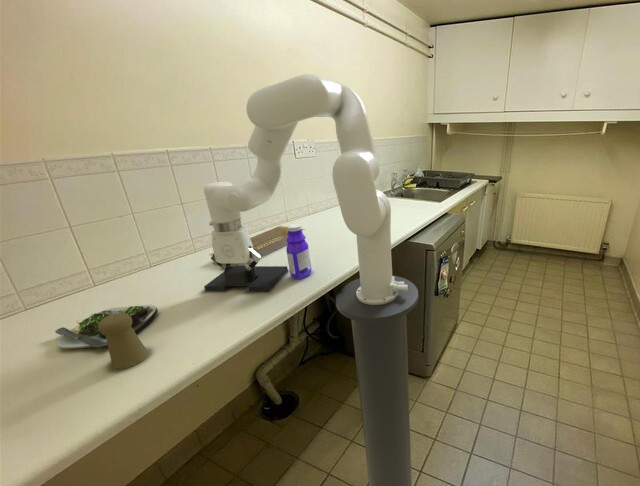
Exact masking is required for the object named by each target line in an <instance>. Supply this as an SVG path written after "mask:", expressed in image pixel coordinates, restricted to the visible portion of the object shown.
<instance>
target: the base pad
mask: <svg viewBox="0 0 640 486" xmlns="http://www.w3.org/2000/svg"><path fill="white" fill-rule="evenodd" d="M232 267H234V266H232ZM254 270H255V274H256V277H255V279H254V280H252V281H251V282H250V283H249V284H247V285H246V286H247V291H248V293H252V292H253V293H255V292H256V293H265V292H266V293H269V292H270V291H271V290H272V289H273V288H274V287H275V286H276V285H277V284H278V283H279V282H280V280H281V279H283V278H284V276H285V275H286V274H287V273H289V267H288V266H287V265H285V266H281V265H279V266H278V265H275V266H273V265H269V266H267V265H266V266H265V265H261V266H260V265H255V267H254ZM224 274H225V272H224V271H223V272H222V273H220V274H219V275H217V276H216V277H214V278H213V279H212V280H211V281H209V282H208V283H206V284H205V285H204V290H205V292H227V291H228V290H229V289H230V288H232V286H227V284H226V280H225V276H224Z"/></svg>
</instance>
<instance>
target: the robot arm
mask: <svg viewBox="0 0 640 486" xmlns="http://www.w3.org/2000/svg"><path fill="white" fill-rule="evenodd" d="M246 115H247V118H248V119H249V121H250V122H251V124H252V125H254V128H253V130H252V132H251V135H250V137H249V140H248V143H247V148H248V150H249V151H250V153H251V154H253V155H254V156H255V157H256V158H257V163H256V166H255V170H254V172H253V174H252V177H251V178H250V179H248V180H244V181H241V182H239V183H235V184H233V183H231V182H230V181H217V182H210V183H207V184H206V185H204V187H203V192H204V197H205V201H206V204H207V208H208V212H209V216H210V219H211V221H209V223H208V224H209V227H213V230H212V231H211V244H212V251H213V252H212V253H213V255H212V256H211V257H210V260H211V261H212V262H214V263H215V264H216V265H217V266H218V267H220V269H221V271H223V272H225V273H226V272H228V271H229V270H230V269H232V268H233V267H232V266H230V265H231V264H244V265H245V267H246V268H247V270H246V274H247V278H248V282H250V283H252V282H253V281H252V280H254V279H255V276H256V275H255V270H254V267H255V266H257V265H258V263H259V262H260V261H261V260H262V258H263V257H261V256H260V255H259V254H258V253H257V252H255V251H254V249H253V248H254V247H253V245H252V242H251V239H250V238H251V237H250V234H249V232H248V230H247V228H246V227H245V226H244V222H243V218H242V214H241V213H244V212H249V211H250V210H252V209H254V208H257V207H258V206H261V205H263V204H265V203H267V202H268V201H269V200H270V199H271V198H272V196H273V195H274V193H275V191H276V190H277V187H278V184H279V183H280V180H281V176H282V167H283V165H282V159H283V156H284V154H285V152H286V150H287V147H288V145H289V142H290V140H291V138H292V136H293V134H294V133H295V130H296V127H297V125H298V123H299V122H301V121H304V120H305V121H306V120H307V119H312V118H331V119H333V121H334V123H335V134H336V138H337V142H338V145H339V149H340V155H339V156H338V157H337V158H336V159H335V161H334V164H333V165H332V173H331V174H332V182H333V186H334V190H335V194H336V199H337V201H338V205H339V209H340V211H341V215H342V218H343V222H344V225H345V226H346V227H347V228H348V230H349V231H350V232H351V233H352V234H354V235H356V248H357V249H356V250H357V251H356V252H357V260H358V271H359V278H360V284H361V286H360V287H359V288H358V289H357V291H356V297H357V299H358V300H359V301H360V302H362V303H364V304H368V305H381V304H386V303H388V302H391V301H393V300H394V299H395V298H396V297H397V296H398V291H408V285H404V282H396V281H395V278H394V277H392V276H393V262H392V237H391V235H392V234H391V226H392V225H391V223H392V222H391V219H392V209H391V203H390V199H389V197H388V196H387V195H386V194H385V193H384V192H383V191H381V190H379V189H376V184H375V181H376V180H377V179H378V177H379V175H380V163H379V160H378V157H377V152H376V147H375V143H374V139H373V135H372V134H373V133H372V130H371V127H370V122H369V118H368V114H367V111H366V107H365V105H364V103H363V101H362V100H361V98H360V96H359V95H358V94H357V93H356V92H355V91H354V90H353V89H352V88H351V87H349V86H347V85H345V84H342V83H340V82H337V81H334V80H331V79H328V78H325V77H321V76H319V75H314V74H301V75H297V76H294V77H291V78H288V79H285V80H282V81H279V82H276V83H273V84H271V85H268V86H265V87H262V88H260V89H257V90H256V91H254V92H253V93H251V94H250V96H249V97H248V99H247V101H246ZM251 258H254V261H253V260H252V259H251ZM248 262H249V263H248Z"/></svg>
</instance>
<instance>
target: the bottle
mask: <svg viewBox="0 0 640 486" xmlns="http://www.w3.org/2000/svg"><path fill="white" fill-rule="evenodd" d="M286 227H287V228H288V235H287V236H288V237H287V242H288V244H287V245H286V249H285V250H286V257H287V263H288V270H289V274H290V277H291V278H293V279H296V280H297V279H298V280H300V279H305V278H306V277H308V276H309V275H310V274H311V273H312V263H311V262H312V261H311V256H310V250H309V249H310V248H309V244H308V242H307V240H306V236H305V235H304V233H303V228H302V225H301V224H299V223H293V224H292V223H291V224H289V225H287V226H286Z"/></svg>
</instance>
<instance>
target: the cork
mask: <svg viewBox="0 0 640 486" xmlns="http://www.w3.org/2000/svg"><path fill="white" fill-rule="evenodd" d="M131 325H132V318H131V317H130V316H129V315H128V314H126V313H116V314H113V315H110V316H107V317H105V318H104V319H102V320H101V321H100V322H99V325H98V330H99V331H100V333H101V334H102V335H105V336H106V340H107V344H108V346H107V347H108V348H107V349H108V353H109V357H110V361H111V366H112V368H113V369H114V370H124V369H129V368H132V367H135V366H136V365H138V364H140V363H141V362H143V361H144V360H146V358H147V357H148V356H149V350H148V349H147V348H146V347H145V345H144V344H143V342H142V340H141V339H140V337H139V336H138V333H137V334H136V333H135V331H134V330H133V328H132V327H131Z"/></svg>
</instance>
